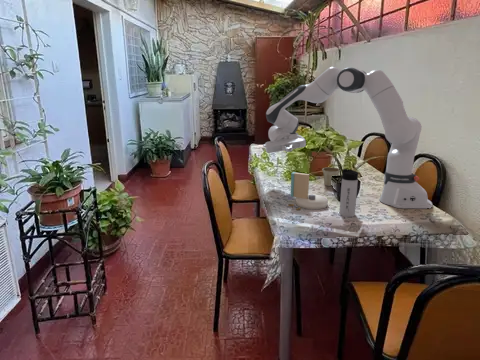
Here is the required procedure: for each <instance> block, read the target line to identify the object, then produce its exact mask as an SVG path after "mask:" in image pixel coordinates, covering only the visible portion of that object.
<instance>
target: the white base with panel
mask: <svg viewBox="0 0 480 360" xmlns="http://www.w3.org/2000/svg"><path fill="white" fill-rule="evenodd" d="M290 174H291V175H290V178H291V179H290V197H292V198H294V197H295V205H296V206H297V207H298V208H299V207H300V208H301V209H307V210H323V209H326V208H327V207H328V205H329V203H328V201H329V199H328V198H327V197H326V196H324V195H320V194H316V193H315V194H314V193H309V190H310V189H309V187H310V174H309V173H303V172H302V173H301V172H296V171H292V172H291V173H290Z"/></svg>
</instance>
